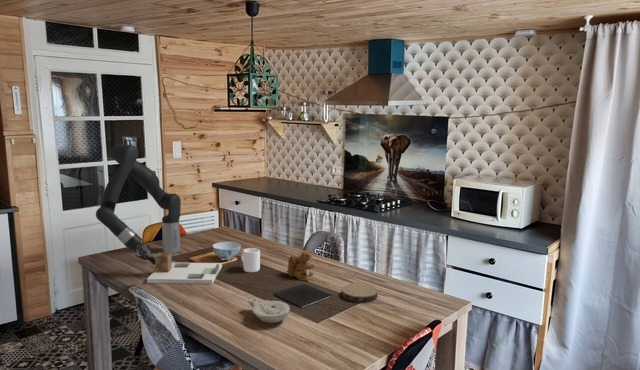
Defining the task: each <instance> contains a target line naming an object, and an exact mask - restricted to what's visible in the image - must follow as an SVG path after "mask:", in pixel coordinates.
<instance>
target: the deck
mask: <svg viewBox="0 0 640 370" xmlns="http://www.w3.org/2000/svg"><path fill="white" fill-rule="evenodd" d="M222 267H223V263H222V262H176V261H175V262H172V269H171V270H170V271H169V272H156V269H155V270H154V271H153V273H151V274H150V275H149V276H148V277H147V278H146V284H181V285H182V284H184V285H186V284H191V285H213V283H214V281H215V280H216V278H215V274H216V272H217V271H218V269H219V272H220V271H221V270H222ZM205 268H214V270H213V274H205V275H204V276H203V277H201V273H202V271H203V270H204V269H205Z"/></svg>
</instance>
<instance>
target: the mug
mask: <svg viewBox="0 0 640 370" xmlns="http://www.w3.org/2000/svg"><path fill="white" fill-rule="evenodd" d="M240 259H241V262H242V264H243V266H242V267H243V271H244V272H246V273H256V272H259V271H260V270H261V249H259V248H255V247H253V248H252V247H251V248H244V249H243V251H242V253H241V255H240Z"/></svg>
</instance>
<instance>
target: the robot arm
mask: <svg viewBox="0 0 640 370" xmlns="http://www.w3.org/2000/svg"><path fill="white" fill-rule="evenodd" d="M138 151H139V150H138V148H137V146H135V145H132V144H125V143H124V144H122V143H118V144H115V145H114V146H112V147H111V157H112V158H113V160H114V162H116V163H118V165H120V166H119V168H118V170H117V171H116V172H115V173H114V175H113V176H112V177H111V178H110V179H109V180H108V182H107V183H106V186H105V189H104V191H103V195H102V199H101V200H102V201H101V204H100V206H99V208H97V210H96V212H95V216H96V217H95V218H96V220H98V221H99V222H100V223H101V224H103V226H104V227H106V228H108V230H109V231H110V232H111V233H112V234H113V235H114V236H115V237H116V238H117V239H118V240H119V242H120V243H122V244H123V245H124V246H125V247H126V248H127V249H128V250H129V251H134V252H135V253H136V255H135V256H136V258H138V259H141V260H143V261H148V262H150V263H151V264H152V265H153V266H156V265H155V256H153V254H154V252H153V251H152V249H151V247H150V245H145V244H144V243H142V241H143V238H141V237H140V235H139V234H138V233H137V232H135V231H134V229H132V228H131V227H129V226H128V225H127V224H126V223H125V222H124V221H123V220H122V219H120V218H119V217H118V215H116V214H115V210H116V206H117V202H118V200H119V198H120V194H121V192H122V189H123V186H124V184H125V182H126V180H127V178H128V176H129V174H130V175H131V177H133V179H135V180H136V182H137V183H138V184H139V185H140V186H141V187H142V188H143V189H144V190H145V191H146V192H147V193H148V194H149V195H150V196H151V197H152V199H153V200H154V201H155V202H156V204H157V205H158V206H159V207H160V208H161V209H162V210H166V211H167V212H168V214H166V215H163V216H162V218H161V227H162V229H161V230H162V253H171V254H175V253H179V252H180V251H181V233H180V217H181V208H182V207H181V204H182V203H181V202H182V201H181V198H180V196H179V194H176V193H170V192H169V193H168V192H166V191H165V190H163V189H162V188H161V183H160V179H159V177H158V176H157V175H156V173H155V172H154V171H153V170H152V169H151V168H150V167H148V166H146V165H145V164H143V163H141V162H139V161H138V160H137V159H138V154H139V152H138Z"/></svg>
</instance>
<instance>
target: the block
mask: <svg viewBox="0 0 640 370" xmlns="http://www.w3.org/2000/svg"><path fill="white" fill-rule="evenodd" d="M154 258H155V265H154V266H155V270H156V272H169V271H170V270H171V269H172V260H173V259H172V253H164V252H158V253H157V254H156V255H155V256H154Z"/></svg>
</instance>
